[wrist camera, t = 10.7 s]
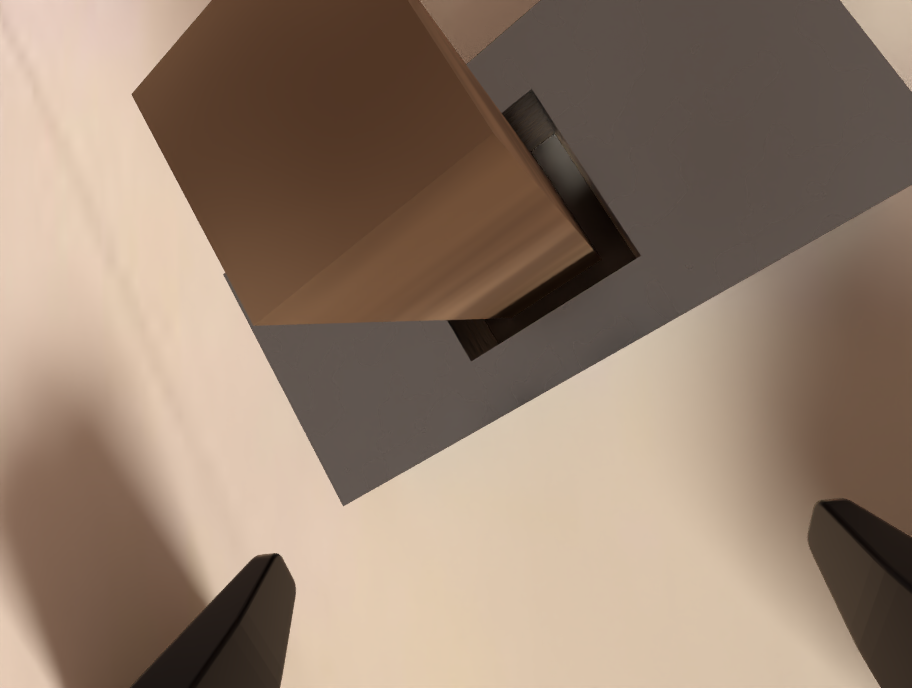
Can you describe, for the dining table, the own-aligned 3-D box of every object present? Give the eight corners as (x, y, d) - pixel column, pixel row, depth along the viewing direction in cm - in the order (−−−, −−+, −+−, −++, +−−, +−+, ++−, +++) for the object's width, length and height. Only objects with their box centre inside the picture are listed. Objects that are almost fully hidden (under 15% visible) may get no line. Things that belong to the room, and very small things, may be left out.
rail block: (886, 194, 16) (962, 156, 12) (394, 473, 22) (343, 506, 18) (703, -51, 17) (718, -154, 13) (290, 280, 24) (223, 274, 20)
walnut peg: (601, 259, 19) (493, 133, 6) (511, 317, 20) (253, 325, 7) (544, 171, 19) (323, -132, 6) (460, 234, 21) (131, 94, 7)
